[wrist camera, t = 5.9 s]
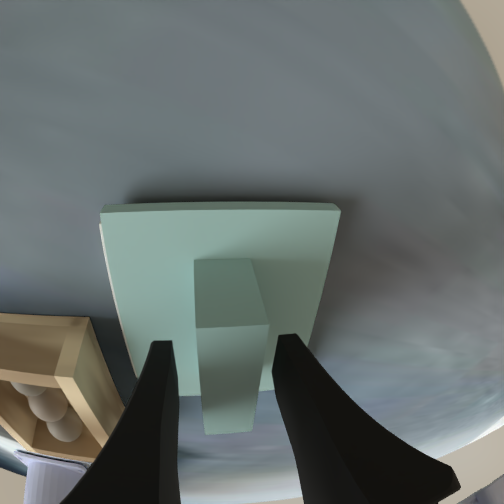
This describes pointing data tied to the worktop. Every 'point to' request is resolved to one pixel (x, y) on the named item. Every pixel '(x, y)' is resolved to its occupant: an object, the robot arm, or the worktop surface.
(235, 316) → the lid
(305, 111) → the worktop surface
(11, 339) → the box
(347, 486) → the robot arm
